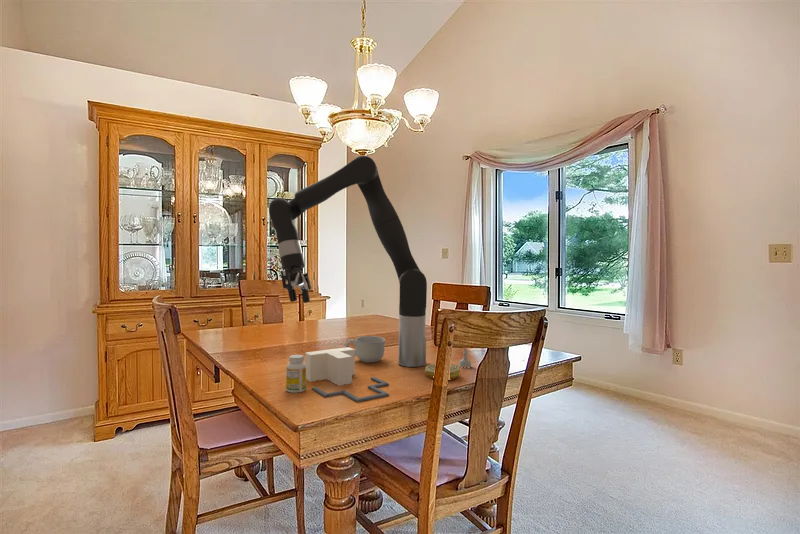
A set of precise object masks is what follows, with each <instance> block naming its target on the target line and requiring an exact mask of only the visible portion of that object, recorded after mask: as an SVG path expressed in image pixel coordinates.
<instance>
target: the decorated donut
mask: <svg viewBox="0 0 800 534" xmlns="http://www.w3.org/2000/svg"><path fill="white" fill-rule="evenodd" d="M435 364H436V363H431V364H428V365H426V367H425V368H424V373H425V375H426V377H427V378H430V379H433V376H434V370H435ZM450 364H451V367H450V379H451V380H450V381H453V380H456V379H457V378H458V377H459V376H460V374H461V368H459V367H458V365H455V364H453V363H450ZM452 379H453V380H452Z"/></svg>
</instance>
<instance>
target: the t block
mask: <svg viewBox="0 0 800 534" xmlns="http://www.w3.org/2000/svg"><path fill="white" fill-rule="evenodd" d="M355 357H356V356H355V348H352V347H350V346H349V347H346V346H345V347H340V348H332V349H322V350H315V351H314V350H313V351H308V352H304V363H305V364H306V381H308V382H310V383H311V382H317V380H318V381H323V379H324V380H327V381H329V380H330V381H329V382H331V383H333V384H335V385H336V384H337V385H336V386H338V385H339V386H344V384H345V385H349V384H353V376H355Z"/></svg>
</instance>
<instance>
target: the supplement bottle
mask: <svg viewBox="0 0 800 534" xmlns="http://www.w3.org/2000/svg"><path fill="white" fill-rule="evenodd" d="M288 361H289V362H288V364H287V365H286V371H285V372H286V374H285V375H286V380H285V381H286V382H285V383H286V386H285V390H286V392H288V393H292V394H293V393H294V394H297V393H298V392H299V393H303V392H304V391H306V389H307V386H306V385H307V384H306V382H307V379H306V364H305V355H303V354H292V355H289V357H288Z"/></svg>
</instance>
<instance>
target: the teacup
mask: <svg viewBox="0 0 800 534" xmlns="http://www.w3.org/2000/svg"><path fill="white" fill-rule="evenodd" d="M350 343H352V344H353V346H354V349H355V357H357V358H358V360H360V362H363V363H369V362H370V363H371V362H372V363H377V362H379V361H380V360H381V359H382V358H383V357H384V355H385V345H386V339H385V338H384V337H382V336H377V335H362V336H358V337H356V338H355V340H354V339H352V338H351V339H349V340H347V341H346V343H345V348H346V347H349V348H350V346H349V345H350Z"/></svg>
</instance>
